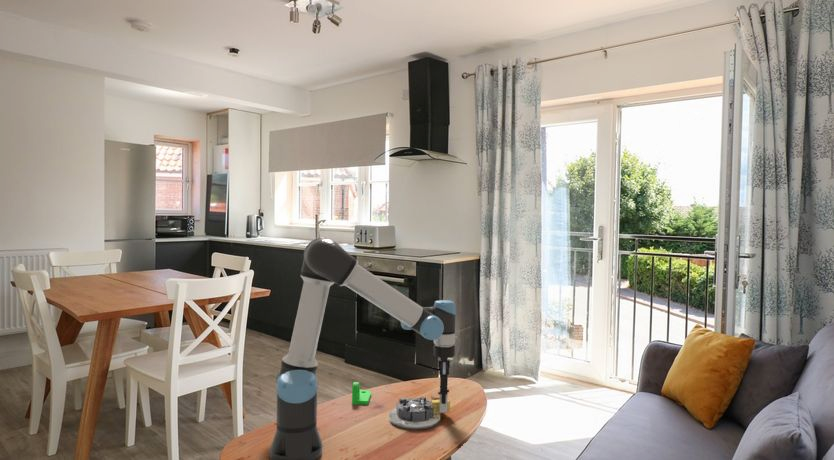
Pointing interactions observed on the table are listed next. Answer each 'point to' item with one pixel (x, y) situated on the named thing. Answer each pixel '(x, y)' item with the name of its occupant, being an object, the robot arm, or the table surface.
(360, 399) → the mechanical part
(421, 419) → the grey ring yellow handle
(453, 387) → the table surface
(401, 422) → the housing
